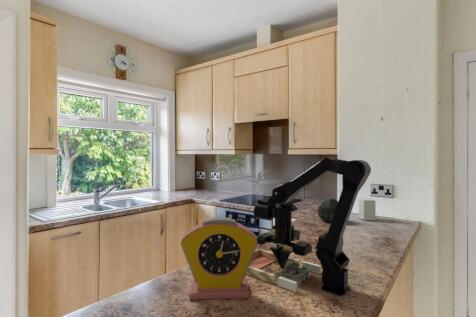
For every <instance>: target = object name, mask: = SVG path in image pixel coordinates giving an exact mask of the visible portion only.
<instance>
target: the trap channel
mask: <svg viewBox="0 0 476 317" xmlns="http://www.w3.org/2000/svg"><path fill="white" fill-rule="evenodd" d="M292 260H293V261H294V262H297V263H298V264H299V267H301V260H300V259H298V258H295V257H290V256H289V258H288V260H287V263H286V266H287V265H288V263H289V262H290V261H292ZM275 262H277V263H278V261H277V259H276V257H275V255H274V254H273V252H272V251H271V250H270V251H268V250H266V249H262V248H256V249H255V252H254V254H253V257H252V260H251V262H250V265H249V268H248V270H247V273H246V275H248V276H250V277H252V278H253V277H254V278H256V279H258V280H260V281H264V282H266V283H269V284H275V281H276V280H275V277H276V275H275V274H274V273H271V272H269V271H267V270H262V269H264V268H265V267H267V266H268V265H271V264H273V263H275Z"/></svg>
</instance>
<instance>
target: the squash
mask: <svg viewBox="0 0 476 317" xmlns="http://www.w3.org/2000/svg"><path fill="white" fill-rule="evenodd" d="M338 201H339V200H338V199H335V198H328V199H326V200H325V201H323V202H322V203H320V205H319V206H318V207H317V208H318V209H317V215H318V217H319V218H320V220H323V221H327V222H329V223H331V222H332V219H333V216H334V213H335V210H336V207H337V204H338Z"/></svg>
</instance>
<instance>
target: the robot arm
mask: <svg viewBox="0 0 476 317" xmlns="http://www.w3.org/2000/svg"><path fill="white" fill-rule="evenodd" d="M371 172H372V167H371V165H370V164H369V163H368V162H367V161H365V160H364V159H363V160H362V159H357V160H356V159H354V160H345V159H343V160H342V159H337V158H334V157H330V156H329V157H328V156H327V157H323V158H322V159H320V160H319V161H318V162H317V163H315V164H314V165H312V166H311V167H310V168H308V169H307V170H306V171H304V172H302V173H301V174H300V175H298V176H297V177H295V178H294V179H293V180H292V179H291V180H289V181H287V182H284V183H282V184H279V185H277V186H275V187H273V189H272V190H271V191H272V192H271V195H270V197H269V198H268V199H267V200H265V199H262V198H260V199H257V200H256V204H255V205H254V208H253V216H254V218H255V219H258V220H265V221H273V220H274V225H272V230H274V233H267V232H263V233H261V234H258V235H257V236H256V238H257V242H258V244H257V245H260V246H264V245H265V244H266V243H269V244H270V247H269V250H270V251H271V252H273V254H274V255H275V257H276V259H277V261H278V262H277V261H276V262H277V263H278V266H279V267H280V269H281V270H282V269H284V268H285V266H287V264H286V263H287V260H288V258H289V257H290V256H291V253H293V254H294V255H297V256H301V257H305V256H307V255H308V254H310V253H312V252H313V245H312V244H311V243H310V242H307V241H303V240H300V238H301V237H300V236H301V231H299V230H298V229H295V226H294V225H293V223H292V222H293V220H292V219H293V217H292V214H293V212H295V211H296V212H297V211H298V210H299V208H298V207H297V206H296V205H295V204H294V202H291V201H293V200H294V199H295V198H296V197H297V196H298V195H299V194H300V193H301V191H303V189H305V188H306V187H308V186H309V185H311V184H312V183H314V182H315V181H317V180H319V179H320V178H321V177H323V176H325V175H326V174H328V173H335V174H338V175H341V176H342V182H341V183H342V188H341V189H342V190H341V193H340V196H339V198H338V200H337V201H338V204H337V207H336V210H335V213H334V216H333V219H332V222H330V224H329V228H328V231H326V232H324V233H322V234H321V235H319V236H318V238H317V239H318V240H317V244H316V246H315V247H314V250H315V256H316V257H317V259H318V261H319V262H320V266H321V284H322V286H320V289H321V290H323V291H327V292H329V293H331V294H335V295H338V296H341V297H342V296H344V295H345V294H346V293H347V292H348V291H349V290H350V289H351V287H350V285H349V269H348V268H347V267H348V266H349V264H350V261H351V260H350V258H349V256H347V254H346V253H345V252H344V251H343V247H344V233H345V230H346V228H347V224H348V223H349V219H350V216H351V213H352V211H353V207H354V206H355V202H356V199H357V196H358V193H359V192H360V190H361V189H362V187H363V186H364V185H365V183H366V182H367V180H368V178H369V177H370V175H371ZM288 202H291V203H289V204H286V203H288ZM284 203H285V204H284ZM279 204H280V205H279ZM295 241H298V242H295Z"/></svg>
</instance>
